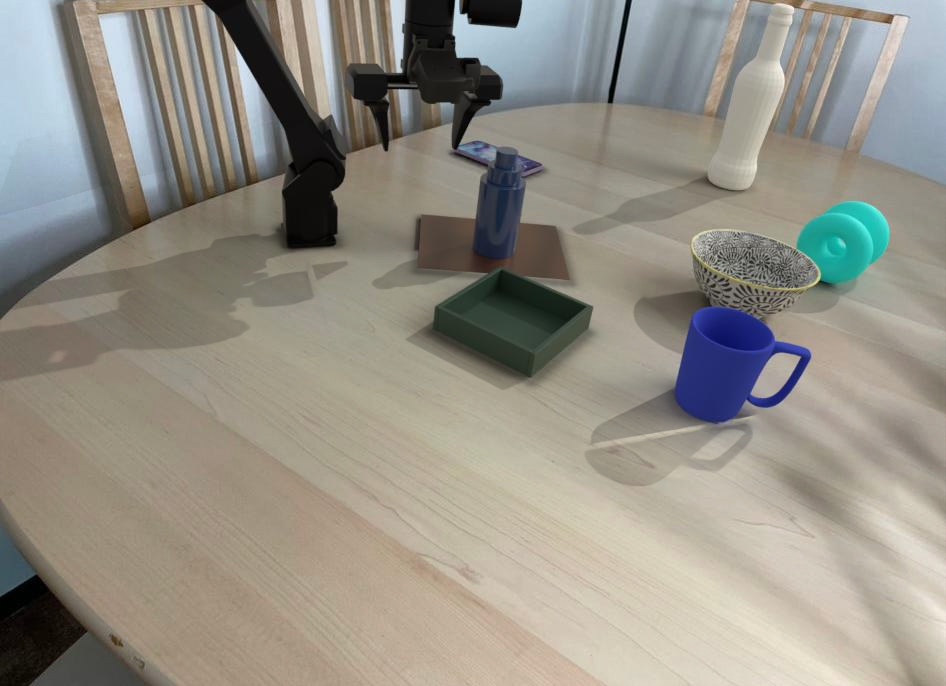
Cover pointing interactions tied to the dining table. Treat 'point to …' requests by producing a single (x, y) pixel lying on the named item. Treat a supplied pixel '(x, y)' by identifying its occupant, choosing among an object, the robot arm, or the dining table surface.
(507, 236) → the blue bottle
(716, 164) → the bottle
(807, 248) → the turquoise yo-yo
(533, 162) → the smartphone
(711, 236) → the bowl
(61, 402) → the dining table surface
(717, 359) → the mug
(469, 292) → the tray
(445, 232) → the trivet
